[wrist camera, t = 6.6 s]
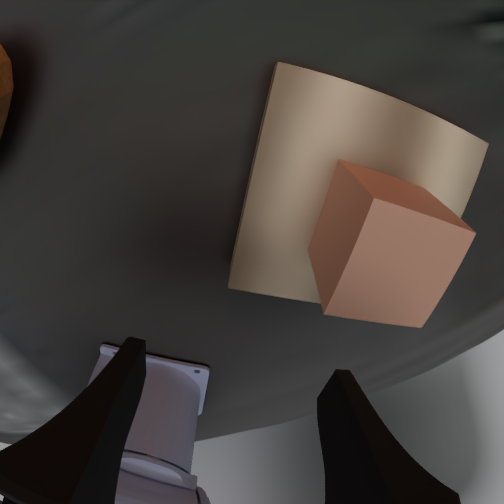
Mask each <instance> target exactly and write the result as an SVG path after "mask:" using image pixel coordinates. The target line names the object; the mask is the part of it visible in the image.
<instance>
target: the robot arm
mask: <svg viewBox="0 0 504 504" xmlns="http://www.w3.org/2000/svg"><path fill="white" fill-rule="evenodd" d="M100 352H101V354H100V357H99V359H98V361H97V364H96V366H95V368H94V371H93V373H92V375H91V378H90V380H89V383H88V385H87V387H86V388H85V389H84V390H83V391H82V392H81V393H80V394H79V395H78V396H77V397H76V398H75V399H74V400H73V401H72V402H71V403H70V404H69V405H68V406H67V407H65V408H64V409H63V410H62V411H61V412H60V413H58V414H57V415H56V416H55V417H53V418H52V419H51V420H49V421H48V422H47V423H46V424H44V425H43V426H41V427H40V428H38V429H37V430H35V431H34V432H32V433H31V434H29V435H28V436H26V437H25V438H23V439H21V440H20V441H18V442H16V443H14V444H12V445H10V446H8V447H7V448H5V449H3V450H1V451H0V494H1V495H3V496H4V498H3V501H1V500H0V504H210V501H209V498H208V497H207V495H206V493H205V491H204V490H203V489H202V488H200V487H198V486H197V476H195V475H191V474H190V473H191V465H192V456H193V448H194V441H195V433H196V425H197V418H198V415H200V414H201V413H202V409H203V404H204V398H205V393H206V388H207V383H208V377H209V372H210V369H209V368H208V367H206V366H203V365H197V364H191V363H186V362H181V361H176V360H171V359H166V358H161V357H157V356H152V355H148V354H146V341H145V340H142V339H138V338H133V337H128V338H127V339H126V340H125V342H124V343H123V344H122V346H121V347H120V348H118V347H115V346H111V345H107V344H102V345H101V347H100ZM317 419H318V428H319V434H320V441H321V447H322V454H323V461H324V468H325V504H461V502H460V498H459V495H458V493H456V492H455V491H453V490H452V489H450V488H449V487H447V486H445V485H444V484H442V483H441V482H440V481H438V480H437V479H436V478H435V477H433V476H432V475H431V474H429V473H428V472H427V471H426V470H425V469H423V467H422V466H420V465H419V464H418V463H417V462H416V461H415V460H414V459H413V458H412V457H411V456H410V455H409V454H408V453H407V452H406V451H405V449H404V448H403V447H402V446H401V445H400V444H399V442H398V441H397V440H396V439H395V438H394V436H393V435H392V434H391V432H390V431H389V430H388V428H387V427H386V426H385V425H384V423H383V422H382V420H381V419H380V417H379V416H378V414H377V413H376V411H375V410H374V408H373V407H372V405H371V404H370V402H369V400H368V399H367V397H366V396H365V394H364V392H363V391H362V389H361V388H360V386H359V384H358V383H357V381H356V380H355V378H354V376H353V375H352V373H351V372H350V370H338V369H336V370H335V371H334V373H333V375H332V376H331V378H330V379H329V381H328V382H327V384H326V385H325V387H324V389H323V390H322V392H321V393H320V395H319V396H318V398H317Z"/></svg>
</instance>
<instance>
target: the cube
mask: <svg viewBox="0 0 504 504" xmlns="http://www.w3.org/2000/svg"><path fill="white" fill-rule="evenodd" d="M475 235H476V232H475V231H473V230H472V229H471V228H470V227H469V226H468V225H467V224H466V223H465V222H464V221H463V220H461V219H460V218H459V217H458V216H457V215H456V214H455V213H454V212H452V211H451V210H450V209H449V208H448V207H447V206H445V205H444V204H443V203H442V202H441V201H440V200H438V199H437V198H436V197H435V196H433V195H432V194H431V193H430V192H429V191H427V190H426V189H425V188H423V187H420V186H418V185H415V184H412V183H410V182H407V181H404V180H401V179H399V178H396V177H393V176H390V175H387V174H384V173H381V172H378V171H375V170H372V169H369V168H366V167H363V166H360V165H357V164H354V163H350V162H347V161H344V160H341V159H338V162H337V166H336V169H335V172H334V175H333V178H332V181H331V184H330V187H329V190H328V193H327V196H326V199H325V202H324V205H323V208H322V210H321V213H320V216H319V219H318V222H317V225H316V228H315V231H314V233H313V236H312V239H311V242H310V245H309V247H308V253H309V257H310V261H311V265H312V269H313V273H314V277H315V281H316V285H317V289H318V293H319V297H320V301H321V305H322V309H323V314H325V315H331V316H337V317H344V318H351V319H358V320H365V321H372V322H379V323H386V324H394V325H402V326H410V327H418V328H422V326H423V325H424V323H425V322H426V320H427V319H428V317H429V316H430V314H431V313H432V311H433V310H434V308H435V306H436V305H437V303H438V302H439V300H440V298H441V297H442V295H443V293H444V292H445V290H446V288H447V287H448V285H449V283H450V282H451V280H452V278H453V276H454V275H455V273H456V271H457V269H458V267H459V266H460V264H461V262H462V260H463V258H464V256H465V254H466V252H467V251H468V249H469V247H470V245H471V243H472V241H473V239H474V237H475Z"/></svg>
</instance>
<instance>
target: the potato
mask: <svg viewBox="0 0 504 504" xmlns="http://www.w3.org/2000/svg"><path fill="white" fill-rule="evenodd" d="M13 88H14V83H13V75H12V66H11V61H10V59H9V57H8V55H7V54H6V52H5V50H4V48H3V47H2V45H1V43H0V140H1V136H2V132H3V129H4V125H5V122H6V119H7V115H8V111H9V106H10V102H11V98H12V93H13Z"/></svg>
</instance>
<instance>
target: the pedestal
mask: <svg viewBox="0 0 504 504" xmlns="http://www.w3.org/2000/svg"><path fill="white" fill-rule="evenodd" d="M487 147H488V143H486V142H484V141H483V140H481V139H479V138H477V137H476V136H474V135H472V134H470V133H468V132H467V131H465V130H463V129H461V128H459V127H457V126H455V125H453V124H451V123H449V122H447V121H445V120H443V119H441V118H439V117H437V116H435V115H433V114H431V113H428V112H426V111H424V110H422V109H420V108H417V107H415V106H413V105H410V104H408V103H406V102H403V101H401V100H398V99H396V98H393V97H391V96H388V95H386V94H383V93H381V92H378V91H375V90H372V89H370V88H367V87H364V86H361V85H358V84H355V83H352V82H349V81H346V80H343V79H340V78H337V77H334V76H330V75H327V74H323V73H320V72H316V71H313V70H309V69H305V68H302V67H298V66H294V65H289V64H285V63H281V62H277V63H276V64H275V67H274V71H273V75H272V79H271V84H270V88H269V92H268V96H267V101H266V105H265V109H264V114H263V118H262V123H261V127H260V131H259V136H258V140H257V145H256V149H255V154H254V158H253V163H252V167H251V172H250V176H249V181H248V186H247V190H246V195H245V199H244V204H243V209H242V213H241V218H240V223H239V227H238V232H237V237H236V242H235V246H234V251H233V256H232V261H231V266H230V274H229V282H228V288H230V289H236V290H242V291H247V292H253V293H259V294H265V295H271V296H276V297H283V298H289V299H295V300H301V301H307V302H314V303H320V304H321V301H320V297H319V293H318V289H317V285H316V281H315V277H314V273H313V269H312V265H311V261H310V257H309V253H308V247H309V245H310V242H311V239H312V236H313V233H314V231H315V228H316V225H317V222H318V219H319V216H320V213H321V210H322V208H323V205H324V202H325V199H326V196H327V193H328V190H329V187H330V184H331V181H332V178H333V175H334V172H335V169H336V166H337V162H338V159H341V160H344V161H347V162H350V163H354V164H357V165H360V166H363V167H366V168H369V169H372V170H375V171H378V172H381V173H384V174H387V175H390V176H393V177H396V178H399V179H401V180H404V181H407V182H410V183H412V184H415V185H418V186H420V187H423V188H425V189H426V190H427V191H429V192H430V193H431V194H432V195H433V196H435V197H436V198H437V199H438V200H440V201H441V202H442V203H443V204H444V205H445V206H447V207H448V208H449V209H450V210H451V211H452V212H454V213H455V214H456V215H457V216H458V217H459V218H460V219H461V216H462V214H463V212H464V209H465V207H466V204H467V202H468V200H469V197H470V195H471V192H472V190H473V187H474V184H475V182H476V179H477V176H478V174H479V171H480V168H481V165H482V162H483V159H484V156H485V153H486V150H487Z"/></svg>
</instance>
